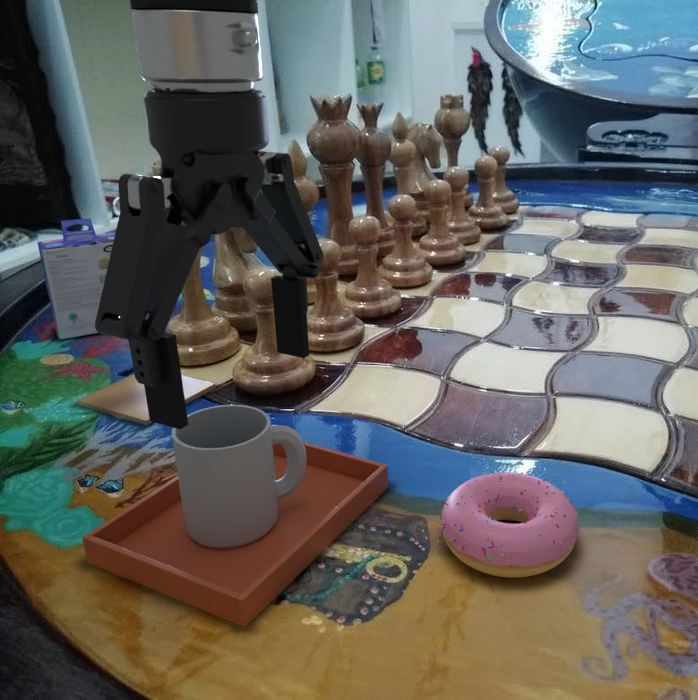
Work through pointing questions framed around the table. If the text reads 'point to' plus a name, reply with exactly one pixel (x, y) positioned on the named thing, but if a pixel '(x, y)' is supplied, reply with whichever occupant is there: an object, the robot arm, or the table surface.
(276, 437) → the cup
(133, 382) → the cork mat
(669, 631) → the table surface
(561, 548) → the doughnut
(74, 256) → the ink cartridge box
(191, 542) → the tray
